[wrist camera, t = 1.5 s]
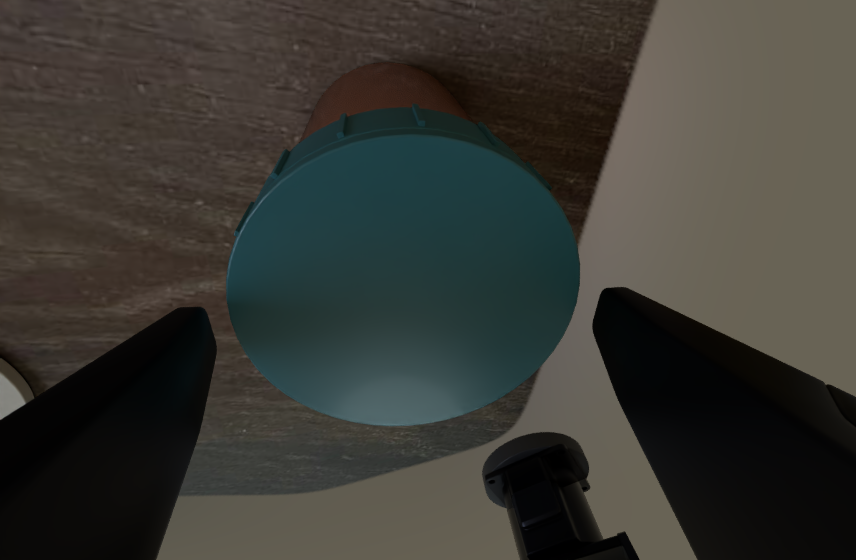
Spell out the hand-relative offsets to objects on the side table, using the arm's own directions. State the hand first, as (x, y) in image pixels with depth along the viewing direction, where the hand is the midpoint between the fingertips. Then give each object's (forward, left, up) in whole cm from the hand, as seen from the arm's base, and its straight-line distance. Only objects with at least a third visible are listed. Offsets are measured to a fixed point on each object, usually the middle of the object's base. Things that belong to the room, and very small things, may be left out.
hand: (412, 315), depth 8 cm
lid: (0, 0, 0) cm, 0 cm away
